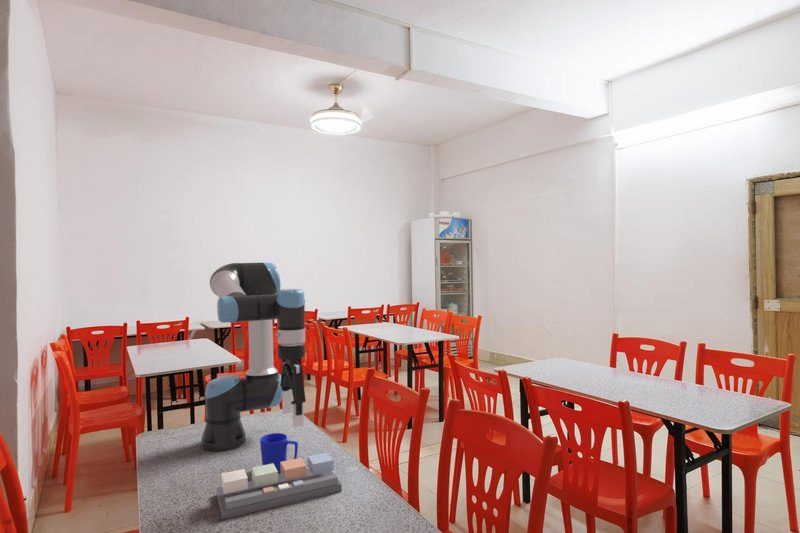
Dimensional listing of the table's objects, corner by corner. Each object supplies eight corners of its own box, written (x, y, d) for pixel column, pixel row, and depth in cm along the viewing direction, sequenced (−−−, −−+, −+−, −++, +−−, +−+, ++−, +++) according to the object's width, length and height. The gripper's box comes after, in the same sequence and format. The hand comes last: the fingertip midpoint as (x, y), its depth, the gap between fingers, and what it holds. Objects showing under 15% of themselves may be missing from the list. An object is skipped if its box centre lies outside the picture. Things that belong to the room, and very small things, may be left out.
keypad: (216, 495, 133) (216, 479, 133) (326, 471, 147) (326, 457, 147) (221, 519, 121) (221, 502, 121) (341, 490, 135) (341, 475, 135)
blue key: (307, 466, 141) (307, 456, 141) (327, 462, 143) (327, 452, 143) (313, 474, 135) (313, 464, 135) (333, 470, 138) (333, 460, 138)
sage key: (251, 478, 134) (251, 467, 134) (273, 473, 136) (273, 463, 136) (255, 487, 128) (255, 476, 128) (277, 482, 131) (277, 471, 131)
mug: (292, 477, 144) (291, 444, 143) (255, 474, 146) (255, 441, 146) (303, 465, 152) (302, 434, 152) (268, 462, 154) (267, 432, 154)
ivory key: (221, 484, 130) (221, 473, 130) (244, 479, 133) (244, 468, 133) (224, 494, 125) (223, 482, 125) (247, 488, 127) (247, 477, 127)
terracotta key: (280, 472, 137) (280, 461, 137) (301, 467, 140) (300, 457, 140) (285, 480, 132) (285, 470, 132) (306, 476, 134) (306, 465, 134)
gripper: (269, 338, 144) (270, 409, 145) (288, 352, 122) (289, 435, 123) (294, 336, 147) (295, 405, 148) (316, 349, 126) (317, 430, 126)
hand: (292, 419), depth 135 cm, fingers open, 12 cm apart
